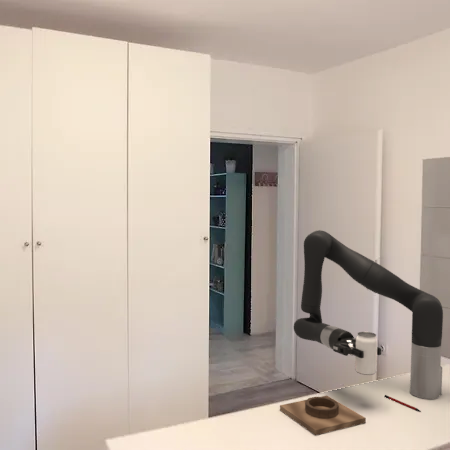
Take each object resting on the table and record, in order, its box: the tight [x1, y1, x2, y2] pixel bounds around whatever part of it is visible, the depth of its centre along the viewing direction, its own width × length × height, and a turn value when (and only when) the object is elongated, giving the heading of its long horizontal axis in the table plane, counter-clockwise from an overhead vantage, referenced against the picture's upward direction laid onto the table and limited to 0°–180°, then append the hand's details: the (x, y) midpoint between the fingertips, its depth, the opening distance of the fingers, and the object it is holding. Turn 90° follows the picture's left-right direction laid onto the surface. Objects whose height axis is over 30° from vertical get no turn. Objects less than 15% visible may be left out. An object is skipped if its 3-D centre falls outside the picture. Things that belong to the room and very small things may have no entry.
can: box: [354, 331, 378, 376], centre depth 155 cm, size 6×6×12 cm
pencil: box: [384, 394, 422, 413], centre depth 158 cm, size 1×14×1 cm, turn 32°
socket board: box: [279, 395, 367, 436], centre depth 148 cm, size 18×18×4 cm
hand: (371, 353), depth 153 cm, fingers closed on can, 6 cm apart
